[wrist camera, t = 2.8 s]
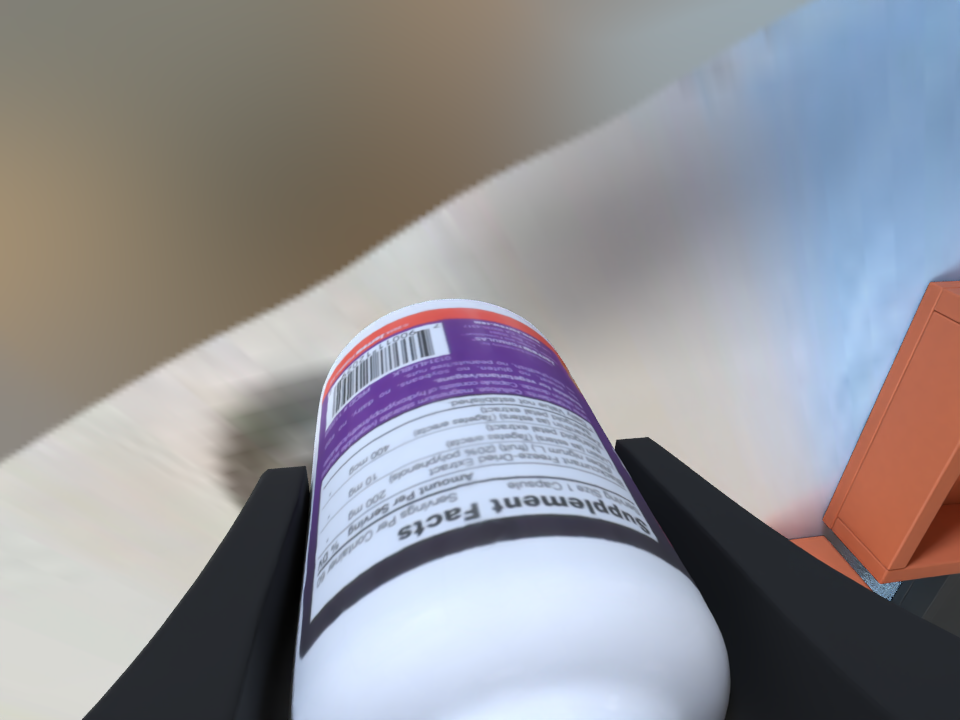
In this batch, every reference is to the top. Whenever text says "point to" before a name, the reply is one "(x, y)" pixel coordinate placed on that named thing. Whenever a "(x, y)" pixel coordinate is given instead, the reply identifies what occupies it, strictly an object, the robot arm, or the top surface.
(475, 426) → the pill bottle
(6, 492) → the top surface
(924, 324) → the terracotta bin
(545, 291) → the top surface
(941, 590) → the charcoal tray
